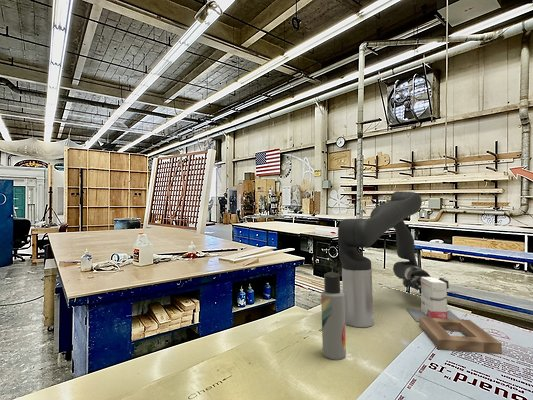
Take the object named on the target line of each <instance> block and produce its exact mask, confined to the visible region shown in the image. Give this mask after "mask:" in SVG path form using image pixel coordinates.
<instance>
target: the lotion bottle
mask: <svg viewBox="0 0 533 400" xmlns="http://www.w3.org/2000/svg"><path fill="white" fill-rule="evenodd" d="M323 274H324V275H323V278H324V279H323V280H324V282H323V283H324V290H322V291H321V292H320V293H321V294H320V305H321V307H320V308H321V337H322V353H323V356H324V357H325V358H328V359H329V360H342V359H345V358H346V356H347V338H346V337H347V336H346V325H345V305H344V293H343V292H342V290H341V280H340V279H341V278H340V277H341V276H340V274H339V273H337V272H334V271H329V272H326V273H323Z"/></svg>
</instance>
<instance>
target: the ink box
mask: <svg viewBox="0 0 533 400" xmlns="http://www.w3.org/2000/svg"><path fill="white" fill-rule="evenodd" d="M447 291H448V289H447V283H445V282H443V281H441V280H439V278H436V277H434V276H433V277H431V276H430V277H421V290H420V299H421V302H420V304H421V305H420V306H421V310H422V312H423V313H425V314H426V315H427V316H429V317H430V318H442V319H447V311H448V297H447V296H448V293H447Z"/></svg>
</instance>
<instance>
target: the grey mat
mask: <svg viewBox="0 0 533 400" xmlns="http://www.w3.org/2000/svg"><path fill="white" fill-rule="evenodd" d="M405 311H407V312H408V314H409V315H410V316H411V317H412V319H413V320H414V321H415V322H416V323H419V317H421V318H430V317H429V316H427V315H426V314H425V313H423V312H422V310H421V309H420V308H406V310H405ZM447 319H461V318H459V317H458V316H457V315H456V314H455V313H454V312H452V311H451V310H447Z"/></svg>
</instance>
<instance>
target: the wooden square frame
mask: <svg viewBox="0 0 533 400" xmlns="http://www.w3.org/2000/svg"><path fill="white" fill-rule="evenodd" d="M418 323H419V325H418V326H419V327H420V328H421V329H422V331H423V332H424V333H425V335H426V336H427V335H428V336H429V337H428V336H427V337H428V338H429V339H430V341H431V342H432V341H433V342H432V343H433V344H434V345H435V347H436V346H437V347H436V348H437V349H438V350H443V351H453V352H454V351H455V352H470V353H485V354H486V353H487V354H500V355H501V354H503V348H502V345H503V343H502V342H501V341H499V340H497V339H496V338H495V337H494V336H493V335H491V334H490V333H488V332H487V331H485V330H484V329H483V328H482V327H481V326H479V325H477V324H476V323H475V322H474V321H472V320H470V319H461V318H460V319H442V318H421V317H419V322H418ZM445 330H450V331H449V332H460V333H461V332H462V333H463V334H462V333H461V334H462V335H464V336H462V335H460V336H459V335H450V334H449V332H448V331H445Z"/></svg>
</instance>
